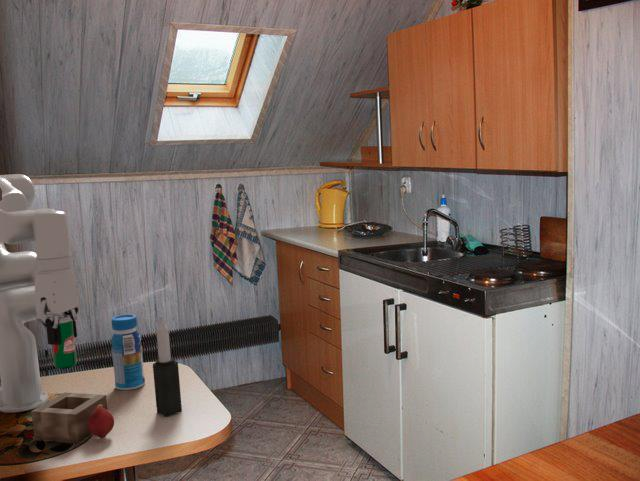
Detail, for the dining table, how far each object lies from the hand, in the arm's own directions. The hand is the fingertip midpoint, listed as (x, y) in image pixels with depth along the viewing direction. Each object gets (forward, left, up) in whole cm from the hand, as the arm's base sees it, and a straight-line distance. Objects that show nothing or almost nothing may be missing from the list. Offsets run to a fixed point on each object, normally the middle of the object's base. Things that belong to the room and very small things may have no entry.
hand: (62, 339), depth 156 cm
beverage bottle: (-3, +30, -23) cm, 38 cm away
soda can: (0, 0, -7) cm, 7 cm away
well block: (0, 0, -23) cm, 23 cm away
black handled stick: (+18, +14, -23) cm, 32 cm away
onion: (+10, -2, -23) cm, 25 cm away
